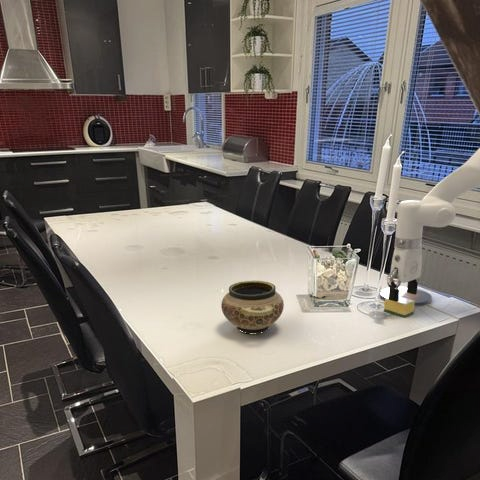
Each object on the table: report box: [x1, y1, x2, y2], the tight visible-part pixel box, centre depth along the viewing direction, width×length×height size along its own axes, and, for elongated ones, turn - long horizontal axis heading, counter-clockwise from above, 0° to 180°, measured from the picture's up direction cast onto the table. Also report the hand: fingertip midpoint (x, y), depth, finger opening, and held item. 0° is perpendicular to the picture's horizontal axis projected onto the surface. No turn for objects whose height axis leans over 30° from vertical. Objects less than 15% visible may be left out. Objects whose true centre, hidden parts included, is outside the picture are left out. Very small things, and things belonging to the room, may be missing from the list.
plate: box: [379, 286, 433, 307], centre depth 161 cm, size 17×17×1 cm
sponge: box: [383, 297, 415, 318], centre depth 147 cm, size 8×5×4 cm, turn 39°
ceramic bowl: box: [220, 280, 285, 334], centre depth 135 cm, size 24×18×15 cm
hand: (402, 297), depth 146 cm, fingers open, 9 cm apart
